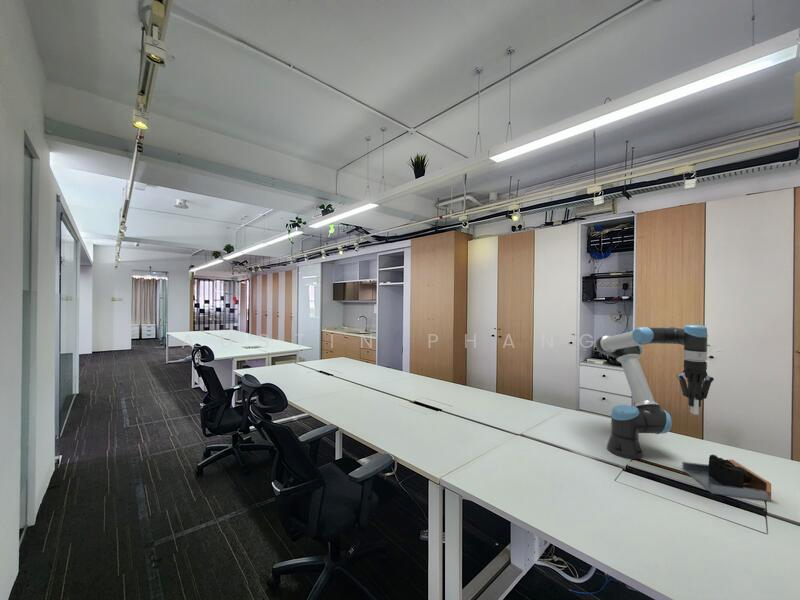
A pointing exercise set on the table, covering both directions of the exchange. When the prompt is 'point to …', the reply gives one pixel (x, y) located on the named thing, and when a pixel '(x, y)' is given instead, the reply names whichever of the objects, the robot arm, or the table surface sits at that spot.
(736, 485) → the camera
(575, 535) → the table surface
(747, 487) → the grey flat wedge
